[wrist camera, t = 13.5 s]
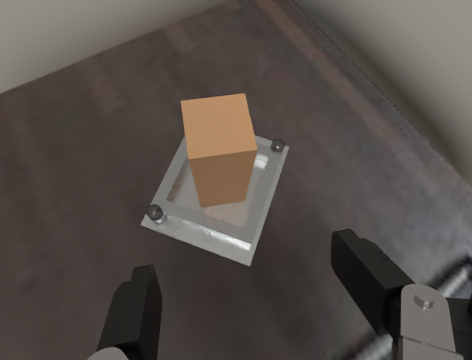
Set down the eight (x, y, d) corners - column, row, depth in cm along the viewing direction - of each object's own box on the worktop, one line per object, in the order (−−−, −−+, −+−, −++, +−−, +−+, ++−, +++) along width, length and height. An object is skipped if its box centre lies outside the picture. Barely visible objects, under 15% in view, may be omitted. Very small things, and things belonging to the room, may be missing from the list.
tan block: (245, 201, 26) (257, 149, 16) (201, 207, 25) (188, 159, 16) (237, 161, 27) (244, 93, 18) (195, 167, 27) (180, 101, 17)
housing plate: (249, 267, 24) (252, 264, 22) (142, 226, 25) (134, 220, 23) (287, 150, 29) (293, 137, 26) (195, 119, 30) (193, 104, 27)
